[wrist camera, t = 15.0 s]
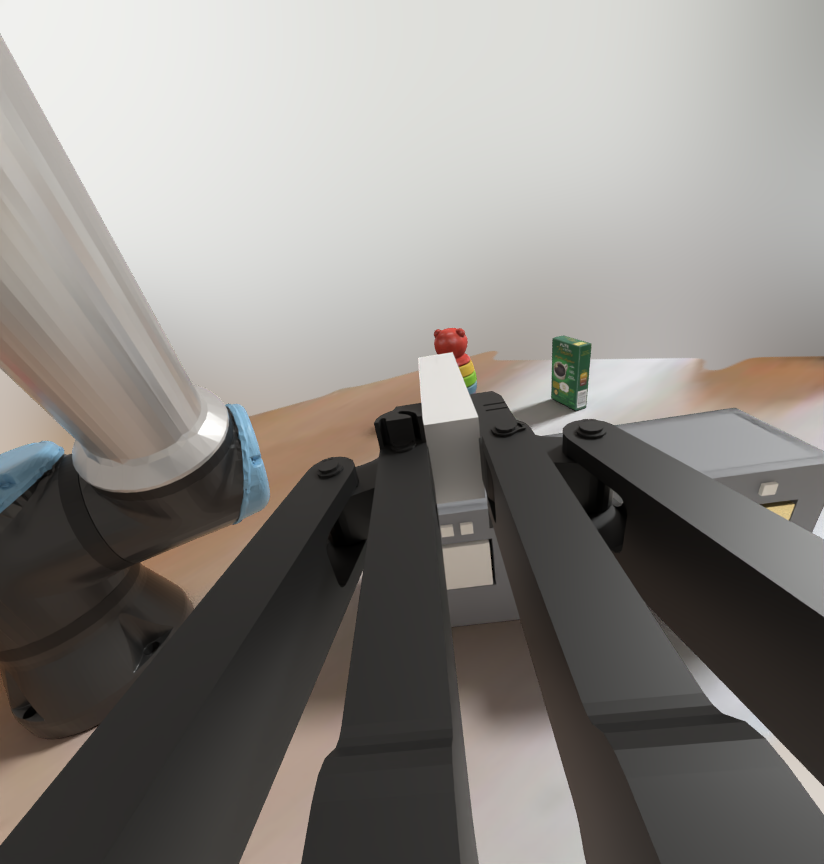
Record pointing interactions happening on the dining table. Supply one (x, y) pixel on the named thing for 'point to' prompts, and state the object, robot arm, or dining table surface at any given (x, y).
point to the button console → (692, 445)
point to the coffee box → (570, 371)
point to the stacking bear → (457, 353)
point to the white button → (467, 564)
